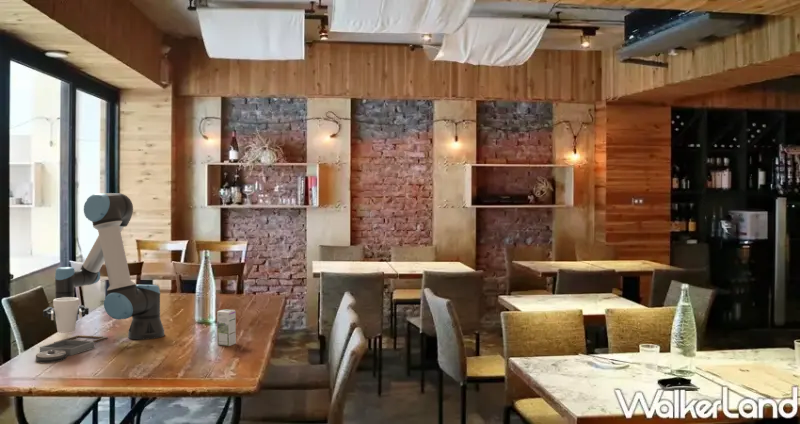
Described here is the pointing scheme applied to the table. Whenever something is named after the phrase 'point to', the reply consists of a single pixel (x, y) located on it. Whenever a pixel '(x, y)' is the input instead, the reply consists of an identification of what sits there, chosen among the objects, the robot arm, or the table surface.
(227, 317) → the syrup box
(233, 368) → the table surface
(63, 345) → the tray
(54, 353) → the metal pot lid
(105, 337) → the square wooden frame
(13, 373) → the table surface
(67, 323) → the foam cup
